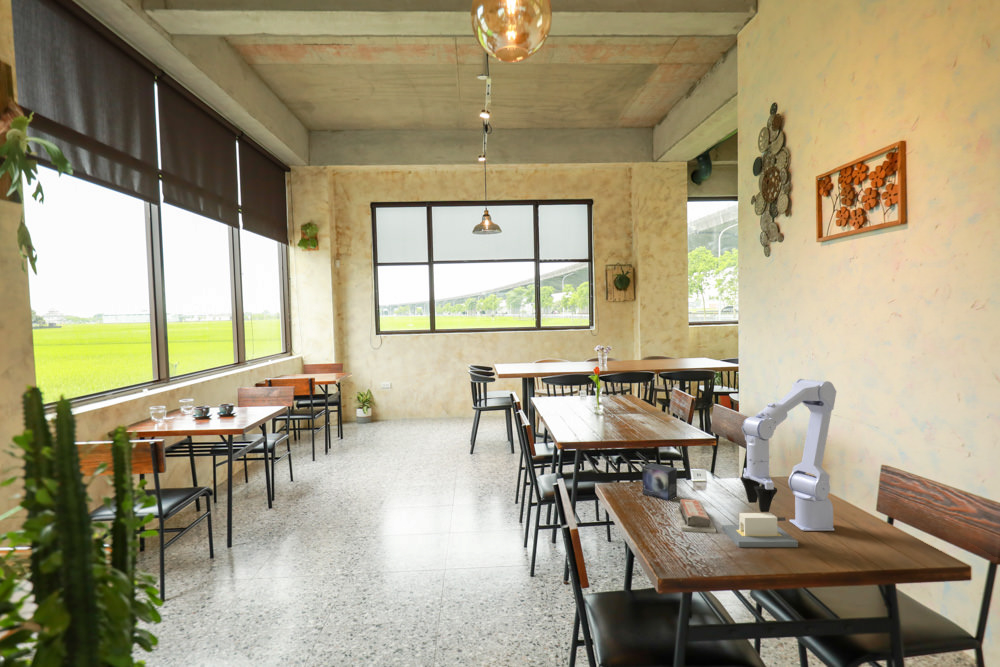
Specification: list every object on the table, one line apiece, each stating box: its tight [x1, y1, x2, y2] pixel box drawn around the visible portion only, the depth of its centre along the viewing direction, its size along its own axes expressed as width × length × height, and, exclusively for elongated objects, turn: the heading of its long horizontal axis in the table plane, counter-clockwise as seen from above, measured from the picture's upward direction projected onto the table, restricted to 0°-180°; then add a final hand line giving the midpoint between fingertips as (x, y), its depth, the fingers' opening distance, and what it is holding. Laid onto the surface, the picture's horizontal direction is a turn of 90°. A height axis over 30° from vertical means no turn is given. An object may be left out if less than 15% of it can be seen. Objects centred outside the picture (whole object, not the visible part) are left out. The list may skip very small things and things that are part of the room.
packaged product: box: [673, 498, 717, 534], centre depth 166 cm, size 18×5×10 cm
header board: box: [721, 524, 799, 548], centre depth 152 cm, size 16×12×4 cm
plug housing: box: [738, 512, 786, 535], centre depth 152 cm, size 12×4×5 cm, turn 88°
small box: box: [642, 462, 678, 502], centre depth 191 cm, size 11×6×10 cm, turn 43°
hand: (758, 506), depth 152 cm, fingers open, 7 cm apart
